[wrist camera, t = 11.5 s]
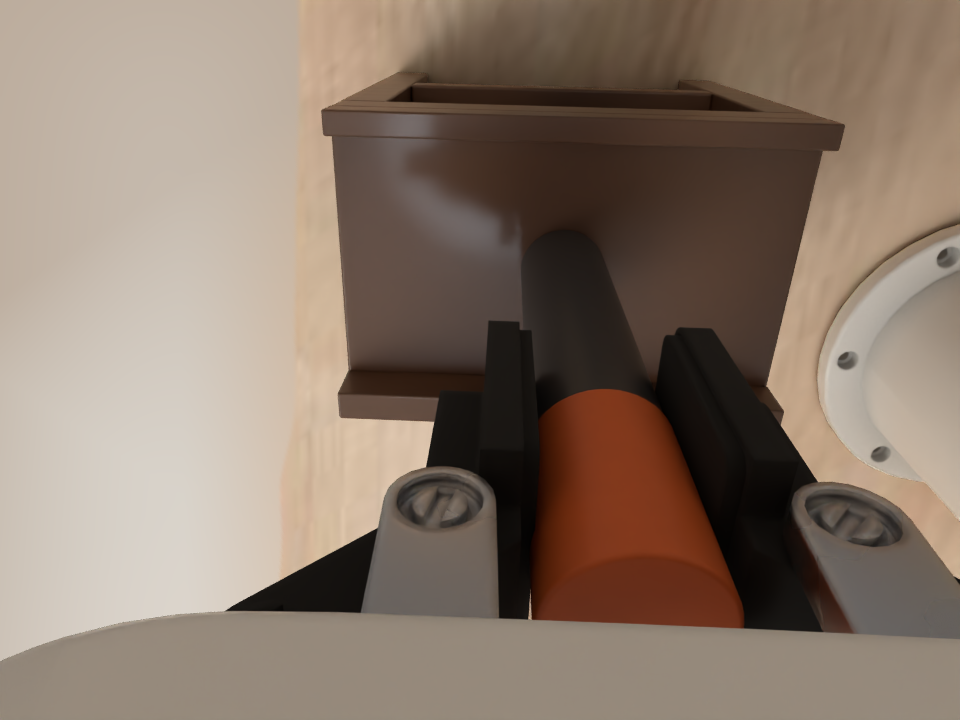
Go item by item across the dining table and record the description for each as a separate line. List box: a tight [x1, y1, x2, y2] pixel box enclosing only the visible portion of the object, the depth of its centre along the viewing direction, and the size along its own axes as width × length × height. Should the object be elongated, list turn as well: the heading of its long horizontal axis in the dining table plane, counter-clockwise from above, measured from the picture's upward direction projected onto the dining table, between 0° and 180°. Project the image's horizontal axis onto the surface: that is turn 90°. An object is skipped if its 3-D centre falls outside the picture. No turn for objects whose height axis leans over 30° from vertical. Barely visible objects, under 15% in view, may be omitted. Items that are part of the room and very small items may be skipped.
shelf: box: [321, 72, 845, 425], centre depth 22 cm, size 12×8×12 cm, turn 89°
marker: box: [521, 230, 744, 629], centre depth 13 cm, size 2×2×12 cm
